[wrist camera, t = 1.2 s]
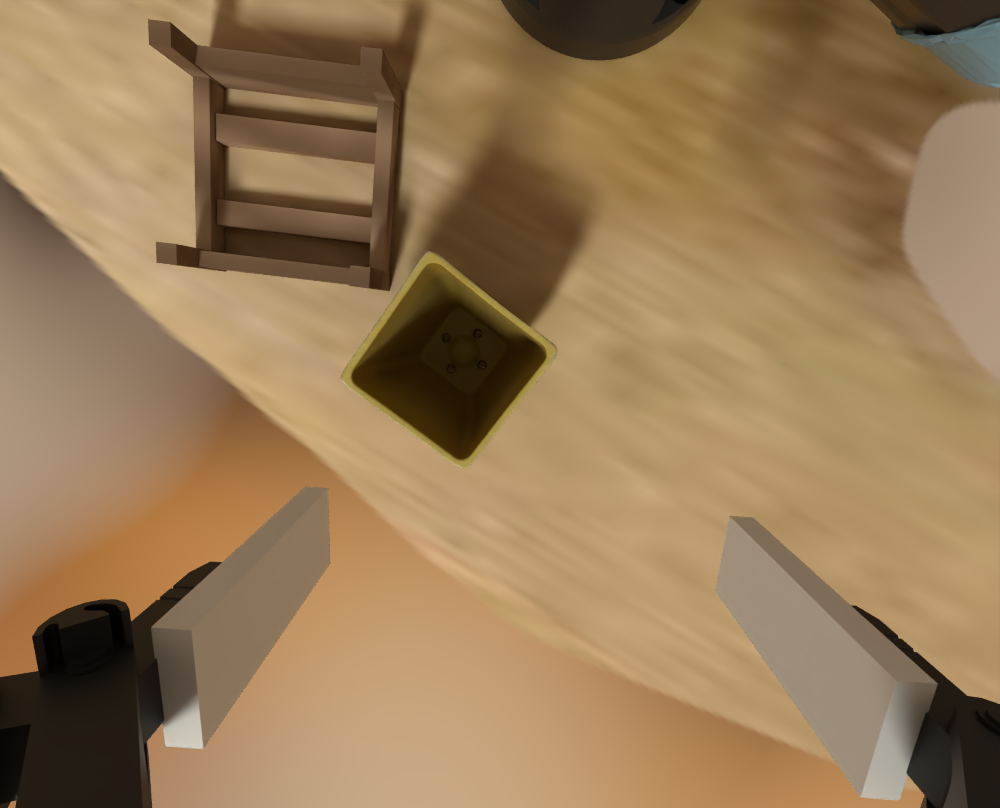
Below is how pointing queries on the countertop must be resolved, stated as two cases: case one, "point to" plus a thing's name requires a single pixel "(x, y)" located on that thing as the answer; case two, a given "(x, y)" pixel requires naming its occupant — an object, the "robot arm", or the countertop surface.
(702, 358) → the countertop surface
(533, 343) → the flower pot
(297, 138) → the rack
